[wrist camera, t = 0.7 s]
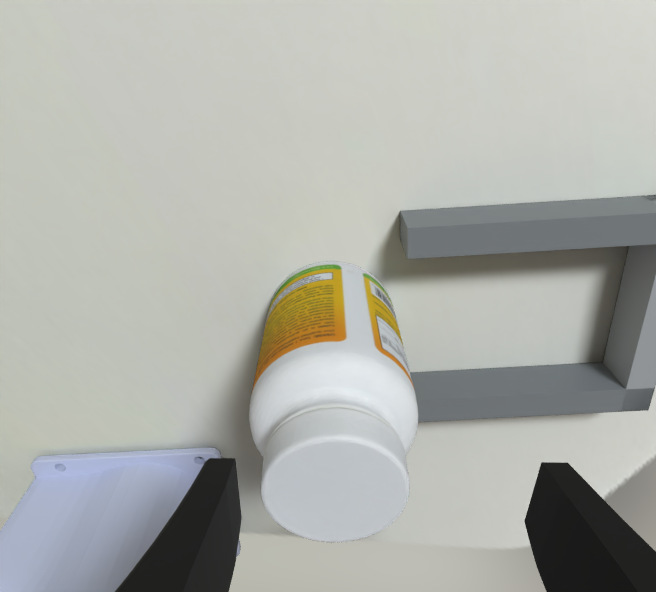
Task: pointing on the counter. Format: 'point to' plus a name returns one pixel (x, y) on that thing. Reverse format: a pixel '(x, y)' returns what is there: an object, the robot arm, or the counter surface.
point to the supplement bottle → (333, 405)
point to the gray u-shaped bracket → (545, 235)
